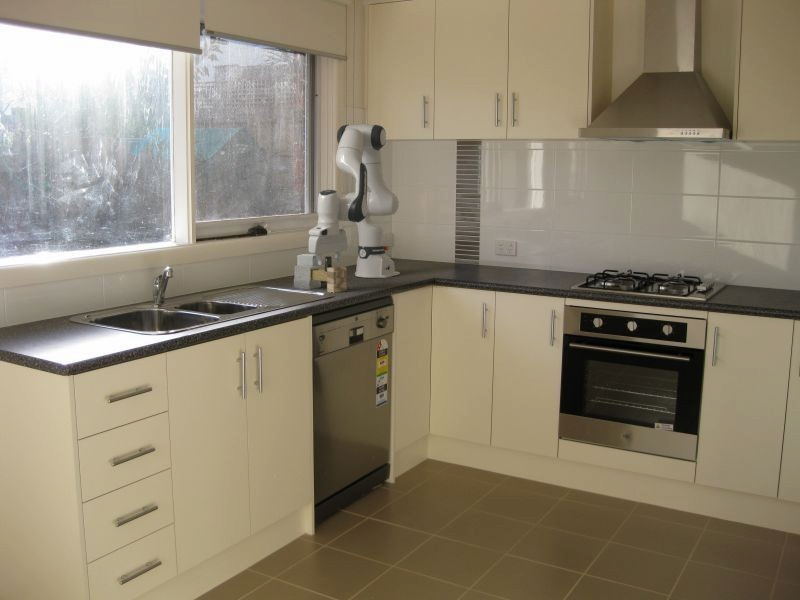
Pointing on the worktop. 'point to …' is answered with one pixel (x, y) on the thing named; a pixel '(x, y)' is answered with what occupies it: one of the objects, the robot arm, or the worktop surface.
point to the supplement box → (307, 259)
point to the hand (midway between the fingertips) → (328, 263)
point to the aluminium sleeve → (305, 277)
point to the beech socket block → (337, 279)
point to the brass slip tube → (322, 274)
